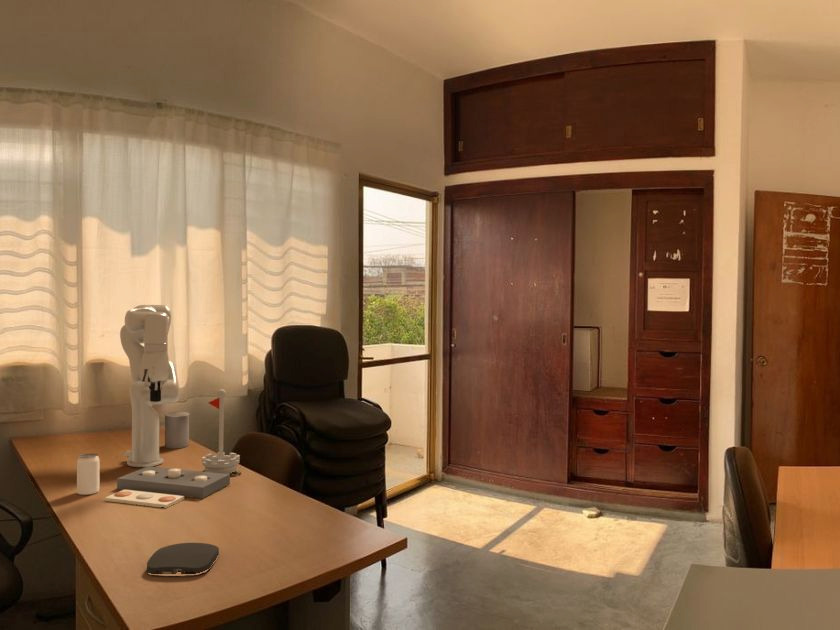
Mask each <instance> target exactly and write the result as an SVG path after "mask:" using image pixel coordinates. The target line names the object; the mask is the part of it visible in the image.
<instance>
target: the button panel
mask: <svg viewBox="0 0 840 630" xmlns="http://www.w3.org/2000/svg"><path fill="white" fill-rule="evenodd" d="M169 469H173V468H169V467H158V466H148V467H142V468H140V469H139V470H136V471H133V472H130V473H127V474H125V475H122V476H120V477H117V479H116V489H117V490H134V491H143V492H152V493H161V494H170V495H179V496H184V497H188V498H194V497H195V498H196V499H205V498H207V497H209V496H210V494H211V495H212V494H214V493H216V492H218V491H220V490H222V489H224V488H226V487H227V485H228V486H230V485H231V474H222V473H212V472H205V471H200V470H191V469H182V468H180V469H181V477H180V478H177V479H172V478H168V470H169ZM148 470H153V471H155V475H152V476H143V475H142V472H144V471H148ZM196 476H207V480H206V481H204V482H201V481H194V478H195V477H196ZM229 484H230V485H229ZM225 486H226V487H225ZM223 487H224V488H223ZM221 488H222V489H221ZM219 489H220V490H219ZM217 490H218V491H217ZM215 491H216V492H215ZM208 495H209V496H208ZM206 496H207V497H206ZM204 497H205V498H204Z"/></svg>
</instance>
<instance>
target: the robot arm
mask: <svg viewBox="0 0 840 630" xmlns="http://www.w3.org/2000/svg"><path fill="white" fill-rule="evenodd" d="M171 323H172V313H171V310H170V308H169V307H168V306H167V305H165V304H139V305H137V306H134V308H132V309H129V310H127V311H126V312H125V316H124V325H123V326H122V327H121V328H120V332H119V339H120V344H121V347H122V349H123V351H124V353H125V355H126V357H127V358H128V360H129V368H130V375H131V380H132V382H133V383H131V385H130V387H129V397H130V404H131V450H126V451H125V452H124V454H123V457H125V458H129V459H128V460H127V462H126V463H127V464H126V465H127V466H129V467H132V468H145V467H148V466H152V467H157V466H159V465H161V464H163V463H164V458H163V457H161V456H160V416H159V413H158V411H157V410H155V409H154V407H153V406H156V405H170V404H171V405H172V404H175V403H176V402H178V401H179V398H180V394H181V392H180V391H181V390H180V385H179V380H178V375H177V371H176V367H175V364H174V363H173V362H172V361H171V360H169V354H168V349H169V347H168V343H169V342H168V336H169V332H170V327H171ZM142 344H143V345H142Z"/></svg>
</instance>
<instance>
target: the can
mask: <svg viewBox="0 0 840 630" xmlns="http://www.w3.org/2000/svg"><path fill="white" fill-rule="evenodd" d="M99 491H100V457H99V454H98V453H91V452H90V453H83V454H80V455H78V458H77V461H76V494H78V495H79V496H91V495H95V494H97V493H98V492H99Z"/></svg>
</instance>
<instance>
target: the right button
mask: <svg viewBox="0 0 840 630" xmlns="http://www.w3.org/2000/svg"><path fill="white" fill-rule="evenodd" d="M206 480H207V476H196V477H195V478H194V481H201V482H204V481H206Z"/></svg>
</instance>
